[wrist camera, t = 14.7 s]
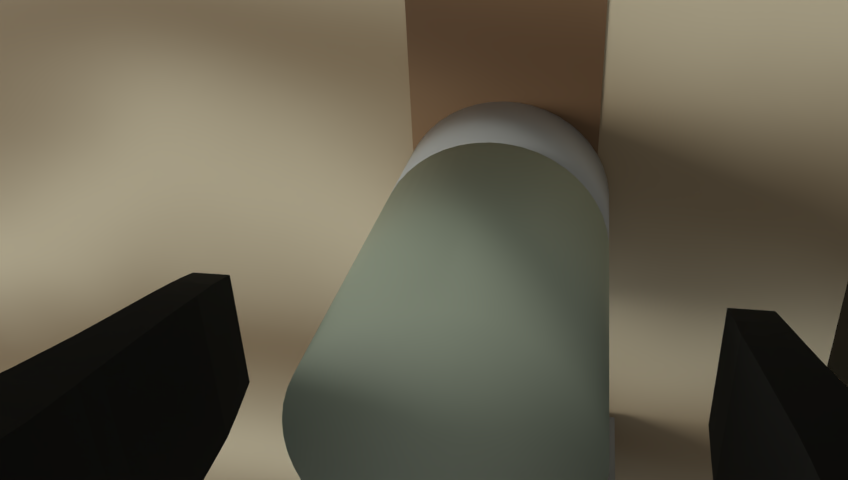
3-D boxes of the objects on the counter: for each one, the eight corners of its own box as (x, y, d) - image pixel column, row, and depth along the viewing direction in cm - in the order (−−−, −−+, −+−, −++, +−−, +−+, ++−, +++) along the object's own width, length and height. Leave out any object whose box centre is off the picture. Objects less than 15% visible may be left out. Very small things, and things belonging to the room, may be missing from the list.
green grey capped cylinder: (602, 293, 16) (599, 586, 10) (409, 280, 17) (301, 546, 11) (616, 103, 14) (622, 329, 8) (398, 99, 15) (260, 301, 9)
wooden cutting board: (740, 639, 23) (748, 691, 21) (96, 547, 26) (69, 587, 25) (889, -28, 14) (919, -8, 13) (-101, -19, 18) (-157, -4, 16)
